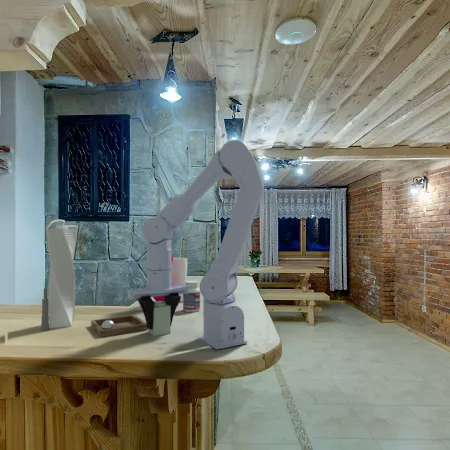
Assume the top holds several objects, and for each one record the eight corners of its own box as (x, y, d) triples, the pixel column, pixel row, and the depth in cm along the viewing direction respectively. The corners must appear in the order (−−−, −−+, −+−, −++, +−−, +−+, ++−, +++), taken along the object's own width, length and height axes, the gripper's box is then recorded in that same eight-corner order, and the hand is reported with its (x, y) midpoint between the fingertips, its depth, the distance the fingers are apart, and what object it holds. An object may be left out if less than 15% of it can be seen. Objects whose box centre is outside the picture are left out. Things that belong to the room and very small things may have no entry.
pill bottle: (197, 312, 104) (197, 283, 105) (180, 311, 105) (180, 282, 106) (202, 308, 110) (202, 280, 110) (186, 308, 111) (186, 280, 111)
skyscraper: (43, 326, 91) (44, 219, 92) (77, 322, 94) (77, 219, 95) (40, 334, 83) (41, 218, 84) (77, 330, 87) (77, 218, 87)
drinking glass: (191, 300, 122) (191, 258, 123) (178, 304, 117) (178, 259, 117) (176, 298, 126) (176, 257, 126) (163, 301, 120) (163, 258, 121)
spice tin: (170, 335, 81) (170, 303, 81) (154, 338, 79) (154, 305, 79) (163, 331, 85) (164, 300, 85) (148, 334, 83) (148, 302, 83)
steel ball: (116, 333, 81) (116, 320, 81) (103, 335, 79) (103, 322, 80) (113, 330, 84) (113, 318, 84) (100, 332, 82) (100, 319, 82)
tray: (148, 332, 84) (148, 324, 84) (100, 339, 78) (101, 331, 78) (134, 322, 93) (134, 314, 93) (91, 328, 88) (91, 320, 88)
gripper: (180, 266, 89) (180, 319, 89) (123, 269, 82) (123, 327, 81) (192, 268, 83) (192, 325, 83) (132, 272, 76) (132, 335, 75)
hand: (159, 326), depth 82 cm, fingers closed on spice tin, 4 cm apart
